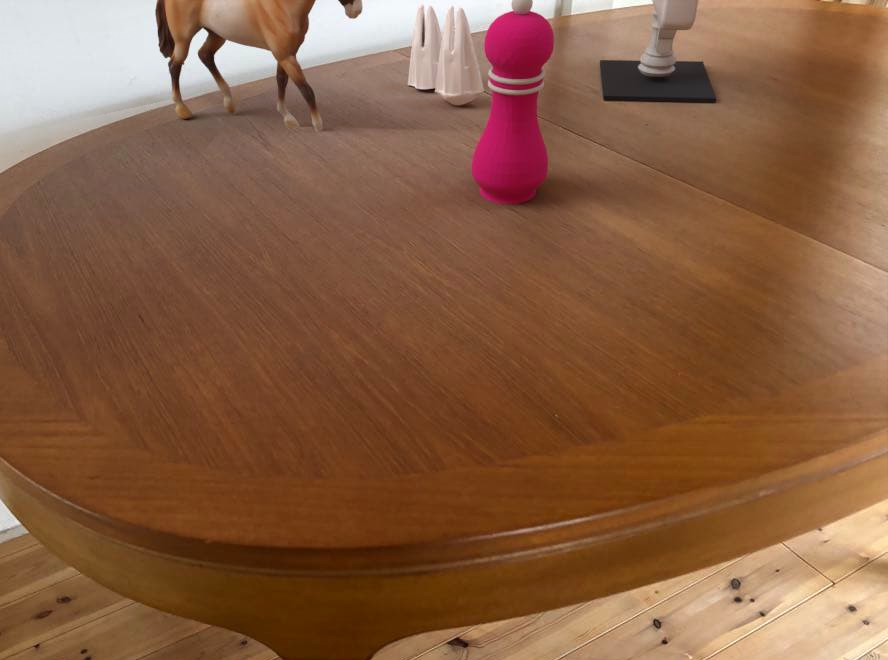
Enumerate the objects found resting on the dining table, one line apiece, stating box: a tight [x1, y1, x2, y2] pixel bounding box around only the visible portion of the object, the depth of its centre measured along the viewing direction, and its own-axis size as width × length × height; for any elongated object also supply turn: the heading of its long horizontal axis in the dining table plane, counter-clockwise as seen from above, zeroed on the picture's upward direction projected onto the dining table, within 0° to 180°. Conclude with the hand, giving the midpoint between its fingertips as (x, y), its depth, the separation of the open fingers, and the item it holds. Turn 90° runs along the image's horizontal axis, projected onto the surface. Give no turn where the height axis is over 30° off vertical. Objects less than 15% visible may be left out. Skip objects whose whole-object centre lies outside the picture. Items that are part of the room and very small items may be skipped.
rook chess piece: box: [638, 9, 677, 77], centre depth 108 cm, size 4×4×8 cm
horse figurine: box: [154, 0, 363, 132], centre depth 101 cm, size 31×8×21 cm, turn 56°
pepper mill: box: [470, 0, 555, 205], centre depth 81 cm, size 7×7×20 cm
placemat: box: [599, 59, 717, 104], centre depth 112 cm, size 13×13×1 cm
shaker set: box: [407, 3, 485, 106], centre depth 108 cm, size 12×4×11 cm, turn 28°
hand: (660, 46), depth 109 cm, fingers closed on rook chess piece, 3 cm apart
